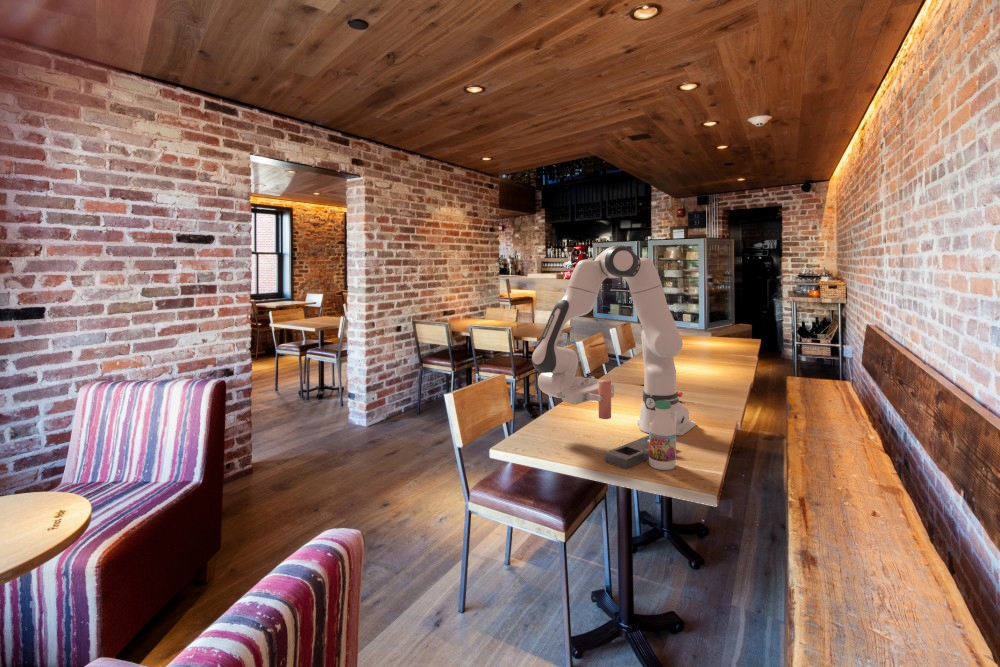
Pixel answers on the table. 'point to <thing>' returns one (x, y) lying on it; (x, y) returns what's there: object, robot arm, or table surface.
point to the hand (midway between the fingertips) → (607, 396)
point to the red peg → (605, 399)
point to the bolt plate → (629, 453)
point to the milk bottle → (662, 438)
